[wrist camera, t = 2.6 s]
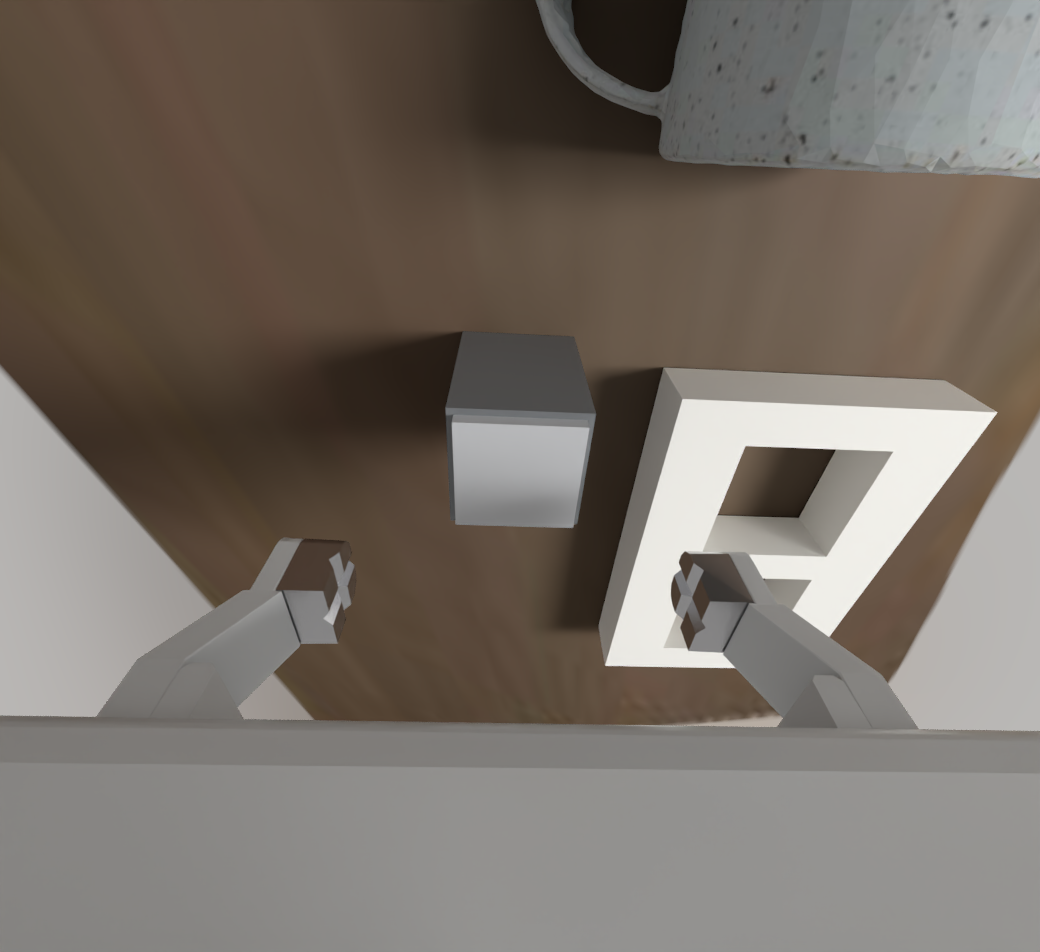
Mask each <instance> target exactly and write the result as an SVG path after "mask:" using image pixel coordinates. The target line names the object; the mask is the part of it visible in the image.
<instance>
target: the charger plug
mask: <svg viewBox="0 0 1040 952" xmlns="http://www.w3.org/2000/svg"><path fill="white" fill-rule="evenodd" d="M445 409H446V430H447V452H448V474H449V496H450V517H451V520H456V525H490V526H523V527H557V528H573V525H574V524H577V522H578V516H579V510H580V505H581V499H582V493H583V487H584V481H585V475H586V470H587V464H588V458H589V452H590V446H591V441H592V435H593V429H594V423H595V417H596V412H595V408H594V405H593V401H592V398H591V394H590V391H589V387H588V384H587V380H586V377H585V373H584V370H583V366H582V363H581V359H580V356H579V352H578V349H577V345H576V342H575V338H574V337H570V336H550V335H529V334H508V333H487V332H466V331H463V333H462V337H461V341H460V346H459V350H458V355H457V359H456V363H455V368H454V372H453V377H452V381H451V386H450V390H449V394H448V399H447V403H446V408H445Z"/></svg>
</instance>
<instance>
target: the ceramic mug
mask: <svg viewBox="0 0 1040 952" xmlns="http://www.w3.org/2000/svg"><path fill="white" fill-rule="evenodd" d="M536 3H537V6H538V9H539V12H540V15H541V19H542V22H543V25H544V28H545V31H546V34H547V36H548V38H549V40H550V42H551V43H552V45H553V47H554V48H555V50H556V51H557V53H558V55H559V56H560V58H561V59H562V60H563V62H564V63H565V64H566V66H567V67H568V68H569V70H570V71H571V72H572V73H573V74H574V75H575V76H576V77H577V78H578V79H579V80H580V81H581V82H582V83H584V84H585V85H586V86H587V87H589V88H590V89H591V90H592V91H593V92H595V93H597V94H599V95H600V96H602V97H604V98H606V99H608V100H610V101H611V102H614V103H616V104H619V105H622V106H625V107H627V108H630V109H633V110H635V111H638V112H641V113H644V114H647V115H653V116H657V117H658V118H659V119H660V120H661V122H662V129H661V137H660V143H659V153H660V154H661V156H662V157H663V158H664V159H666V160H669V161H676V162H688V163H712V164H722V165H746V166H767V167H783V168H814V169H831V170H865V171H874V172H883V173H887V172H906V173H939V174H954V173H958V174H963V175H977V174H982V175H1006V176H1018V177H1027V178H1040V0H688V1H687V5H686V10H685V14H684V18H683V22H682V31H681V36H680V40H679V43H678V47H677V51H676V55H675V64H674V70H673V74H672V77H671V81H670V83H669V84H668V85H667V86H666V87H665V88H664V89H663V90H661V91H659V92H648V91H644V90H641V89H637V88H634V87H632V86H630V85H628V84H626V83H623V82H621V81H620V80H618V79H616V78H615V77H613V76H611V75H610V74H608V73H607V72H605V71H603V70H602V69H600V68H599V67H598V66H596V65H595V64H594V63H593V61H592V60H591V59H590V58H589V57H588V56H587V54H586V53H585V52H584V50H583V49H582V47H581V45H580V43H579V40H578V39H577V37H576V36H575V32H574V17H573V13H572V9H571V3H572V0H536Z"/></svg>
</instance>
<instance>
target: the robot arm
mask: <svg viewBox="0 0 1040 952" xmlns="http://www.w3.org/2000/svg"><path fill="white" fill-rule="evenodd" d="M351 553H352V551H351V547H350V543H349V542H347V541H340V540H322V539H295V538H283V539H281V540H280V541H279V542H278V543H277V544H276V546H275V548H274V550H273V551H272V553H271V555H270V556H269V558H268V560H267V562H266V563H265V565H264V567H263V568H262V570H261V572H260V574H259V575H258V577H257V579H256V580H255V582H254V584H253V586H252V587H251V589H250V590H243V591H241V592H240V593H238V594H237V595H235V596H234V597H232V598H231V599H229V600H227V601H226V602H224V603H223V604H221V605H220V606H218V607H217V608H215V609H214V610H212V611H211V612H209V613H208V614H206V615H205V616H203V617H201V618H200V619H198V620H197V621H195V622H194V623H192V624H191V625H189V626H188V627H186V628H185V629H183V630H182V631H180V632H179V633H177V634H176V635H174V636H173V637H171V638H169V639H168V640H166V641H165V642H163V643H162V644H160V645H159V646H157V647H156V648H154V649H153V650H151V651H149V652H148V653H146V654H145V655H143V656H142V657H140V658H139V659H137V661H136V662H135V663H134V665H133V666H132V668H131V669H130V670H129V672H128V673H127V675H126V676H125V677H124V679H123V680H122V681H121V683H120V684H119V686H118V687H117V688H116V690H115V691H114V693H113V694H112V695H111V697H110V698H109V700H108V701H107V702H106V704H105V705H104V707H103V708H102V710H101V711H100V712H99V713H98V715H97V716H96V717H61V716H60V717H59V716H0V952H1040V731H995V730H928V729H927V730H926V729H918V727H917V726H916V724H915V723H914V721H913V720H912V718H911V717H910V716H909V714H908V713H907V711H906V710H905V708H904V707H903V705H902V704H901V702H900V701H899V699H898V698H897V697H896V695H895V694H894V692H893V691H892V689H891V688H890V686H889V685H888V683H887V682H886V680H885V679H884V677H883V676H882V675H881V674H880V673H878V672H877V671H875V670H874V669H873V668H871V667H870V666H869V665H867V664H866V663H864V662H863V661H862V660H860V659H859V658H857V657H856V656H855V655H853V654H852V653H850V652H849V651H848V650H846V649H845V648H843V647H842V646H841V645H839V644H838V643H837V642H835V641H834V640H832V639H831V638H830V637H828V636H827V635H825V634H824V633H823V632H821V631H820V630H818V629H817V628H816V627H814V626H813V625H811V624H810V623H809V622H807V621H806V620H805V619H803V618H802V617H800V616H799V615H798V614H796V613H795V612H793V611H792V610H791V609H789V608H788V607H786V606H785V605H783V604H777V602H776V601H775V599H774V597H773V595H772V594H771V592H770V590H769V588H768V587H767V585H766V583H765V581H764V580H763V578H762V576H761V575H760V573H759V571H758V569H757V568H756V566H755V564H754V562H753V561H752V559H751V557H750V556H749V555H748V554H747V553H746V552H701V551H685V552H684V553H683V554H682V555H681V557H680V560H679V565H680V567H681V570H680V571H679V572H677V573H676V574H675V575H674V577H673V580H672V583H671V600H672V605H673V608H674V611H675V613H676V614H678V615H679V616H680V617H681V618H682V619H683V621H682V624H681V627H680V629H681V631H682V634H683V637H684V640H685V643H686V646H687V649H688V651H696V652H717V653H723V655H724V656H725V657H726V658H727V659H728V660H729V662H730V663H731V664H732V665H733V666H734V667H735V668H736V669H737V670H738V671H739V672H740V673H741V674H742V675H743V676H744V677H745V678H746V679H747V681H748V682H749V683H750V684H751V685H752V686H753V687H754V688H755V689H756V690H757V691H758V692H759V693H760V694H761V695H762V696H763V697H764V698H765V700H766V701H767V702H768V703H769V704H770V705H771V706H772V707H773V708H774V709H775V710H776V711H777V712H778V713H779V714H780V715H781V716H782V718H783V719H782V721H781V722H780V723H779V725H778V726H777V727H727V726H725V727H724V726H660V725H589V724H520V723H455V722H389V721H322V720H256V719H254V720H253V719H252V720H251V719H243V717H242V715H241V714H240V712H239V710H238V708H237V707H238V706H239V705H240V704H241V703H242V702H243V701H244V700H245V699H246V698H247V697H248V696H249V695H250V694H251V693H252V692H253V691H254V690H255V689H256V688H258V687H259V686H260V685H261V684H262V683H263V682H264V681H265V680H266V679H267V678H268V677H269V676H270V675H271V674H272V673H273V672H274V671H275V670H276V669H277V668H278V667H279V666H280V665H281V664H282V663H283V662H284V661H285V660H286V659H287V658H288V657H289V656H290V655H291V654H292V653H293V652H294V651H296V650H297V649H298V648H299V647H300V644H314V643H338V641H339V638H340V635H341V632H342V629H343V627H344V624H345V621H346V617H345V613H344V609H346V608H347V607H348V606H349V605H351V603H352V600H353V597H354V594H355V587H356V570H355V566H354V565H353V564H352V563H351V562H350V561H349V559H350V556H351Z"/></svg>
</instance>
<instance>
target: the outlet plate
mask: <svg viewBox="0 0 1040 952" xmlns="http://www.w3.org/2000/svg"><path fill="white" fill-rule="evenodd" d="M996 414H997V412H996V411H994V410H993V409H991V408H989V407H988V406H986V405H984V404H983V403H981V402H979V401H978V400H976V399H975V398H973V397H971V396H970V395H968V394H966V393H965V392H963V391H961V390H960V389H958V388H956V387H955V386H953V385H952V384H950V383H948V382H947V381H945V380H927V379H905V378H883V377H861V376H839V375H817V374H795V373H773V372H751V371H729V370H707V369H685V368H663V372H662V376H661V380H660V384H659V387H658V391H657V395H656V399H655V403H654V407H653V411H652V415H651V419H650V423H649V427H648V431H647V435H646V439H645V443H644V447H643V451H642V455H641V459H640V463H639V467H638V471H637V475H636V479H635V483H634V487H633V491H632V494H631V498H630V502H629V506H628V510H627V514H626V518H625V522H624V526H623V530H622V534H621V538H620V542H619V546H618V550H617V554H616V558H615V562H614V566H613V570H612V574H611V578H610V582H609V586H608V590H607V594H606V598H605V602H604V605H603V609H602V613H601V617H600V621H599V625H598V627H599V633H600V639H601V645H602V651H603V656H604V662H605V666H644V667H700V668H735V667H734V666H733V665H732V664H731V663H730V662H729V660H728V659H727V658H726V657H725V656H724V655H723V653H717V652H696V651H688V649H687V646H686V643H685V640H684V637H683V634H682V631H681V629H680V627H681V624H682V621H683V619H682V618H681V617H680V616H679V615H678V614H676V613H675V611H674V608H673V605H672V600H671V583H672V580H673V577H674V575H675V574H676V573H677V572H679V571H680V570H681V567H680V565H679V560H680V557H681V555H682V554H683V553H684V552H685V551H701V552H746V553H747V554H748V555H749V556H750V557H751V559H752V561H753V562H754V564H755V566H756V568H757V569H758V571H759V573H760V575H761V576H762V578H763V579H765V580H764V581H765V583H766V585H767V587H768V588H769V590H770V592H771V594H772V595H773V597H774V599H775V601H776V602H777V604H783V605H785V606H786V607H788V608H789V609H791V610H792V611H793V612H795V613H796V614H798V615H799V616H800V617H802V618H803V619H805V620H806V621H807V622H809V623H810V624H811V625H813V626H814V627H816V628H817V629H818V630H820V631H821V632H823V633H824V634H825V635H827V636H828V637H829V636H830V635H831V633H832V632H833V631H834V629H835V628H836V627H837V625H838V624H839V623H840V621H841V620H842V619H843V617H844V616H845V615H846V613H847V612H848V611H849V609H850V608H851V607H852V605H853V604H854V603H855V601H856V600H857V599H858V598H859V596H860V595H861V594H862V592H863V591H864V590H865V588H866V587H867V586H868V584H869V583H870V582H871V580H872V579H873V578H874V576H875V575H876V574H877V572H878V571H879V570H880V568H881V567H882V566H883V564H884V563H885V562H886V560H887V559H888V558H889V556H890V555H891V554H892V552H893V551H894V550H895V548H896V547H897V546H898V544H899V543H900V542H901V540H902V539H903V538H904V536H905V535H906V534H907V532H908V531H909V530H910V528H911V527H912V526H913V524H914V523H915V522H916V520H917V519H918V518H919V516H920V515H921V514H922V512H923V511H924V510H925V508H926V507H927V506H928V504H929V503H930V502H931V500H932V499H933V498H934V496H935V495H936V494H937V492H938V491H939V490H940V488H941V487H942V486H943V484H944V483H945V482H946V480H947V479H948V478H949V476H950V475H951V474H952V472H953V471H954V470H955V468H956V467H957V466H958V464H959V463H960V462H961V460H962V459H963V458H964V456H965V455H966V454H967V452H968V451H969V450H970V448H971V447H972V446H973V444H974V443H975V442H976V440H977V439H978V438H979V436H980V435H981V434H982V432H983V431H984V430H985V428H986V427H987V426H988V424H989V423H990V422H991V420H992V419H993V418H994V416H995V415H996ZM745 446H760V447H786V448H812V449H836V451H835V452H834V454H833V456H832V458H831V460H830V462H829V463H828V465H827V467H826V469H825V471H824V473H823V474H822V476H821V478H820V480H819V482H818V484H817V485H816V487H815V489H814V491H813V493H812V494H811V496H810V498H809V500H808V502H807V504H806V505H805V507H804V509H803V511H802V513H801V515H800V516H799V518H786V517H755V516H724V515H718V512H719V510H720V507H721V505H722V502H723V500H724V497H725V495H726V492H727V490H728V487H729V485H730V483H731V480H732V478H733V475H734V473H735V470H736V468H737V465H738V463H739V460H740V458H741V456H742V453H743V451H744V448H745Z"/></svg>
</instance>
